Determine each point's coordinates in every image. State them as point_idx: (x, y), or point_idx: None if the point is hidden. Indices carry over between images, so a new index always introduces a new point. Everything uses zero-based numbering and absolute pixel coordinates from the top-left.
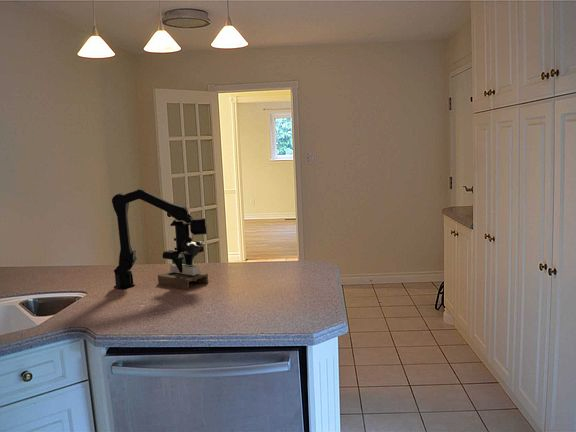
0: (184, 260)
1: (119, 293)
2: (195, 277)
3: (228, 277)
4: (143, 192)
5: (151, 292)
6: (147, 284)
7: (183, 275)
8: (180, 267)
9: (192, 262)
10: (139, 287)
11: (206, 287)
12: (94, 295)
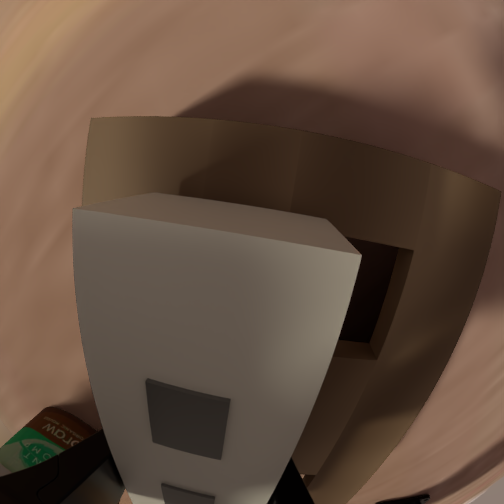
0: None
1: (480, 463)
2: (358, 142)
3: (6, 113)
4: None
5: (497, 384)
6: None
7: None
8: (312, 500)
9: (14, 437)
10: (400, 483)
11: (308, 40)
12: (482, 485)
